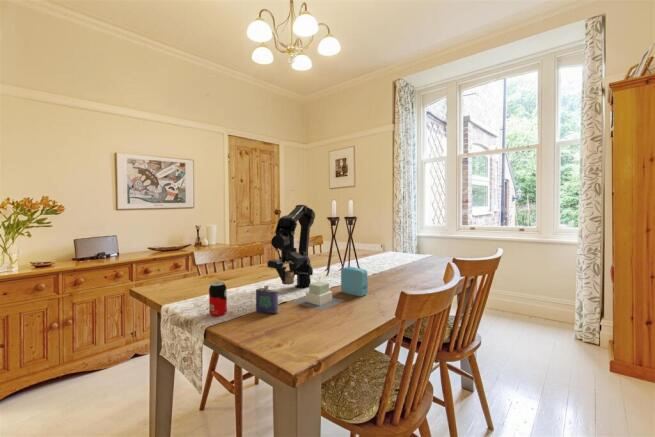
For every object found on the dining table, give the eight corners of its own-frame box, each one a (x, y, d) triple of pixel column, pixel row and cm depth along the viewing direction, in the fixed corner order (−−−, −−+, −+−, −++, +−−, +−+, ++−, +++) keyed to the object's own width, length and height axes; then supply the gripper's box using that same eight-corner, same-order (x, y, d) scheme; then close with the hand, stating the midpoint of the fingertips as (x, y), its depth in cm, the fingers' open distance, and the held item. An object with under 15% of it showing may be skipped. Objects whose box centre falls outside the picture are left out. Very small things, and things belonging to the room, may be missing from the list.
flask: (279, 312, 119) (278, 285, 119) (275, 314, 116) (275, 287, 116) (257, 310, 122) (257, 283, 121) (254, 312, 119) (253, 285, 118)
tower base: (305, 301, 130) (305, 292, 130) (318, 297, 137) (318, 288, 136) (320, 305, 125) (320, 296, 125) (332, 300, 132) (332, 291, 131)
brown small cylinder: (279, 283, 135) (279, 272, 135) (288, 280, 139) (288, 269, 139) (287, 285, 132) (287, 273, 132) (296, 282, 136) (296, 271, 136)
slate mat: (292, 303, 130) (292, 302, 130) (317, 294, 142) (317, 293, 142) (321, 311, 120) (321, 310, 120) (345, 301, 132) (345, 300, 132)
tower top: (309, 292, 130) (309, 284, 130) (318, 289, 135) (318, 281, 135) (319, 295, 127) (319, 286, 126) (328, 291, 131) (328, 283, 131)
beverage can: (217, 318, 113) (216, 286, 112) (206, 315, 116) (205, 284, 116) (230, 313, 119) (229, 282, 118) (219, 310, 122) (218, 280, 121)
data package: (367, 295, 140) (367, 269, 140) (362, 297, 137) (362, 271, 136) (346, 290, 148) (346, 266, 147) (340, 292, 145) (340, 267, 144)
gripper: (284, 250, 122) (284, 288, 123) (315, 244, 137) (315, 279, 138) (266, 247, 129) (266, 283, 130) (297, 242, 144) (298, 275, 145)
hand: (287, 280), depth 136 cm, fingers closed on brown small cylinder, 5 cm apart
